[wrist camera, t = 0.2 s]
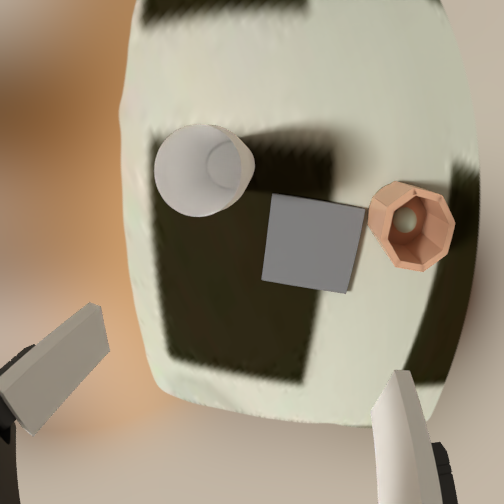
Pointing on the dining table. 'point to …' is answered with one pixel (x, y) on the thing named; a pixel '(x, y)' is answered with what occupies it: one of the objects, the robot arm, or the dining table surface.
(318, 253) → the mat
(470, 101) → the dining table surface
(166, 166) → the cup
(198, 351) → the dining table surface
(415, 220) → the ball
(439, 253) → the pot
